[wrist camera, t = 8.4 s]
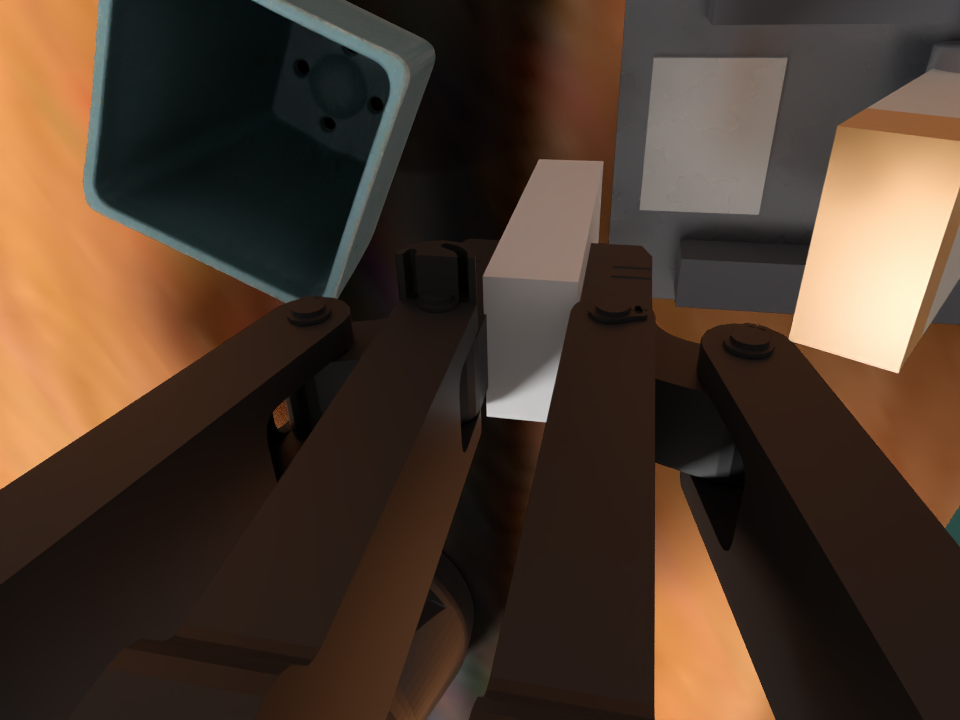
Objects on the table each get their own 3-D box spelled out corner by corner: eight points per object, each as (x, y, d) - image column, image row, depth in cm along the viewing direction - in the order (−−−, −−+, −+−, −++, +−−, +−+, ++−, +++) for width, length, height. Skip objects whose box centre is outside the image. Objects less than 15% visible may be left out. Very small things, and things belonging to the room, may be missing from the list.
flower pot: (218, 137, 30) (76, 206, 23) (262, -87, 25) (101, -93, 18) (404, 227, 31) (325, 324, 23) (482, 24, 26) (415, 63, 18)
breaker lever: (891, 229, 24) (772, 354, 17) (946, 37, 21) (827, 98, 14) (994, 250, 22) (906, 397, 16) (1071, 44, 19) (1003, 116, 13)
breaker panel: (608, 263, 30) (604, 297, 27) (632, -71, 23) (630, -71, 21) (1159, 293, 26) (1218, 336, 23) (1361, -94, 20) (1473, -97, 17)
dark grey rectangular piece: (673, 284, 26) (675, 306, 25) (715, -50, 21) (721, -48, 19) (1136, 311, 24) (1169, 338, 22) (1328, -65, 18) (1390, -65, 17)
